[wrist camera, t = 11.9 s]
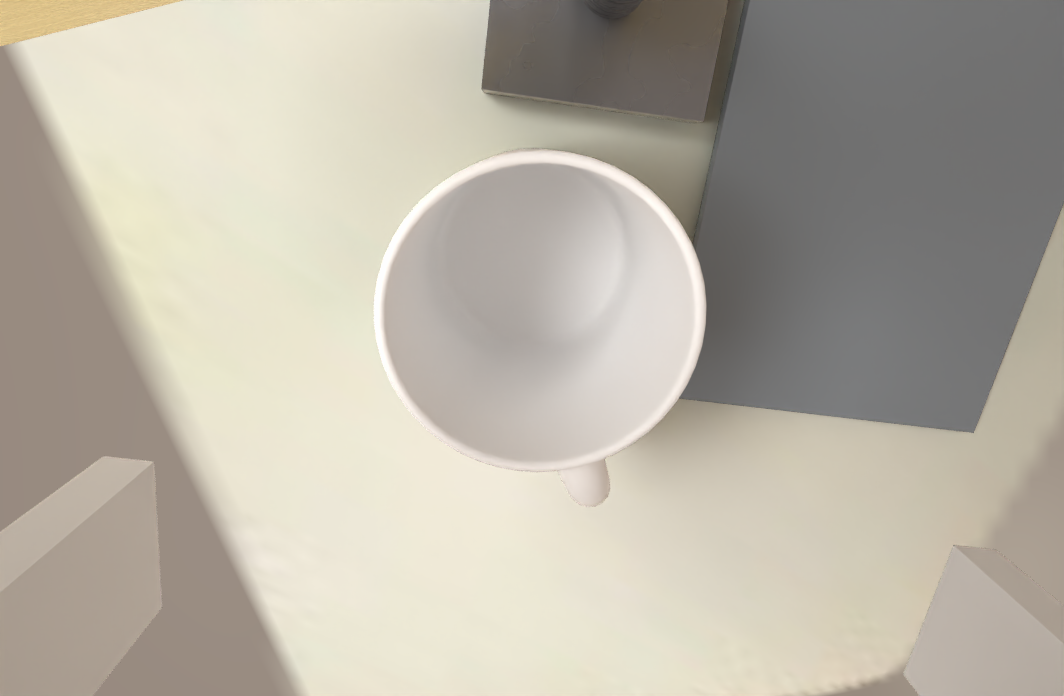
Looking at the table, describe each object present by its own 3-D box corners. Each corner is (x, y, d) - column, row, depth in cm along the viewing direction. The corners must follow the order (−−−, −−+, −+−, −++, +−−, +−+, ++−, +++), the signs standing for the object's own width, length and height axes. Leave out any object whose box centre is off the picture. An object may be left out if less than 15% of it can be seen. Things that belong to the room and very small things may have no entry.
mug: (666, 403, 27) (750, 548, 17) (485, 446, 28) (468, 612, 18) (610, 123, 24) (676, 107, 14) (402, 178, 24) (323, 202, 14)
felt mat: (763, -86, 21) (769, -92, 21) (1137, -23, 22) (1153, -27, 22) (661, 391, 27) (664, 396, 26) (964, 427, 28) (973, 432, 27)
